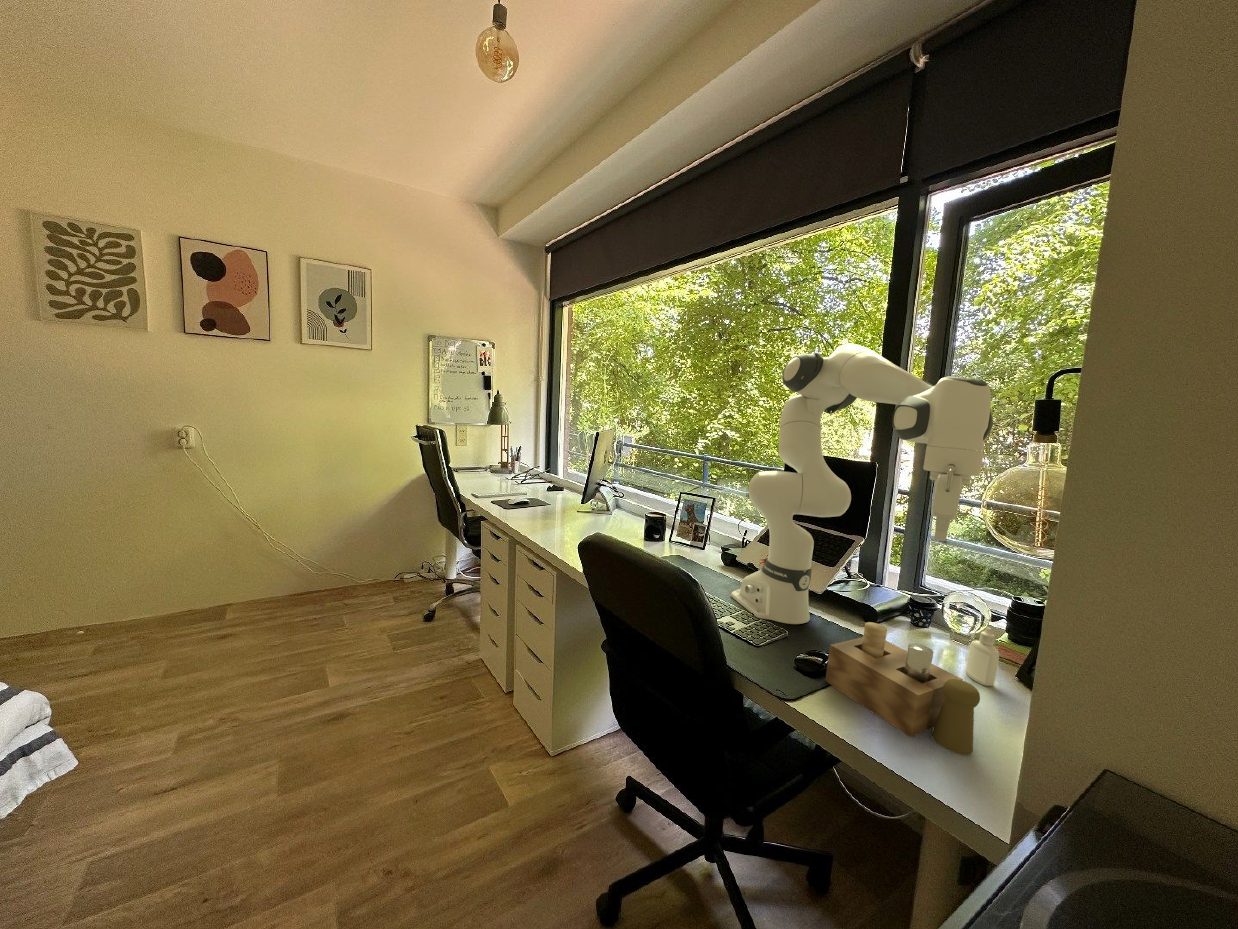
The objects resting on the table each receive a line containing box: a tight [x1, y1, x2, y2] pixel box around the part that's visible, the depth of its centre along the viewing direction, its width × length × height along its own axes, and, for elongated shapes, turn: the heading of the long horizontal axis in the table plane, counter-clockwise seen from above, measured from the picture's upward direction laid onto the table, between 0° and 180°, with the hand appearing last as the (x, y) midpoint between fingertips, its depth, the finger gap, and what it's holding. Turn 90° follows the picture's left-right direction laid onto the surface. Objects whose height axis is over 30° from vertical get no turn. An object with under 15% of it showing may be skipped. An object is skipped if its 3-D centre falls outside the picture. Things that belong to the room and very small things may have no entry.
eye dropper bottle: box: [965, 626, 1000, 687], centre depth 105 cm, size 4×6×12 cm
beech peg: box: [861, 621, 888, 658], centre depth 98 cm, size 4×4×8 cm
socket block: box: [825, 636, 964, 738], centre depth 95 cm, size 18×14×8 cm
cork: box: [931, 679, 981, 756], centre depth 83 cm, size 6×6×11 cm
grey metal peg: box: [904, 642, 934, 683], centre depth 90 cm, size 4×4×8 cm
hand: (940, 535), depth 91 cm, fingers open, 8 cm apart
